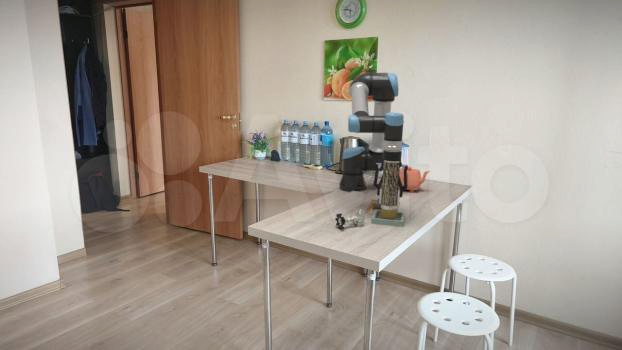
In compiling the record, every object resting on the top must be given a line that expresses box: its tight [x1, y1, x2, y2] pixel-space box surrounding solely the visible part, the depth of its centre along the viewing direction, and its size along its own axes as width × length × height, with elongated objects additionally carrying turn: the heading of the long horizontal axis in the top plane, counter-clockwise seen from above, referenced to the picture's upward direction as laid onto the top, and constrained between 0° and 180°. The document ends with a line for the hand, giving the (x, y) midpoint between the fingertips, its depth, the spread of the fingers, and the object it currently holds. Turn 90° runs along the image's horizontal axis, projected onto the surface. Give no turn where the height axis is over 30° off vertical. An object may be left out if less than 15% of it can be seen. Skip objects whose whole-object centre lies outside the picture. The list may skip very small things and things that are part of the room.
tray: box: [370, 209, 406, 228], centre depth 173 cm, size 13×13×3 cm
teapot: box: [398, 166, 431, 193], centre depth 224 cm, size 17×16×13 cm
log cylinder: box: [380, 160, 401, 220], centre depth 170 cm, size 7×7×25 cm
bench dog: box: [376, 197, 381, 210], centre depth 183 cm, size 4×3×6 cm
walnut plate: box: [372, 199, 378, 210], centre depth 189 cm, size 9×7×3 cm
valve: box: [335, 209, 366, 230], centre depth 166 cm, size 7×7×12 cm
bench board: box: [365, 199, 401, 215], centre depth 191 cm, size 14×22×1 cm, turn 164°
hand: (389, 203), depth 171 cm, fingers closed on log cylinder, 7 cm apart
